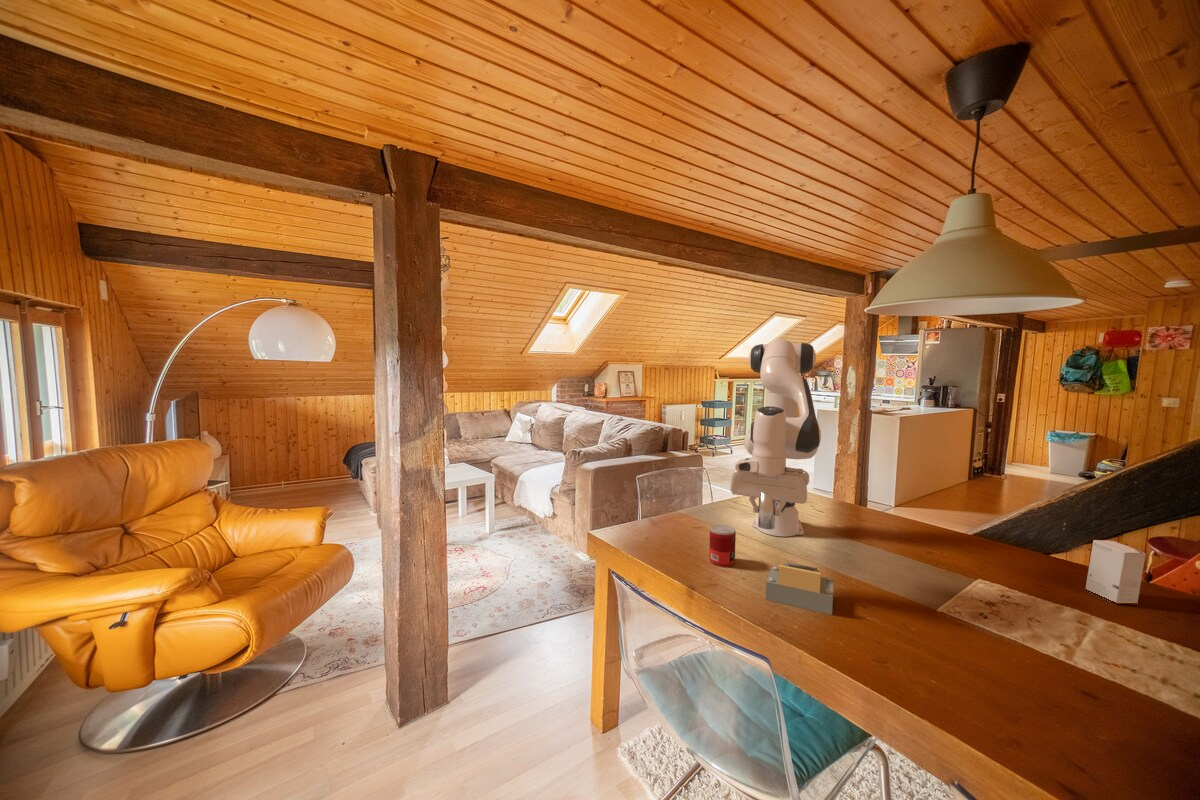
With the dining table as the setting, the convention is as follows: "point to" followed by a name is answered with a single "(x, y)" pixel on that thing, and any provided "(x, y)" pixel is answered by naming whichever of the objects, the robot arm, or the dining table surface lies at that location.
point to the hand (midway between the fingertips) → (767, 513)
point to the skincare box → (1115, 571)
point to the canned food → (722, 545)
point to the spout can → (766, 512)
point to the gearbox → (800, 587)
